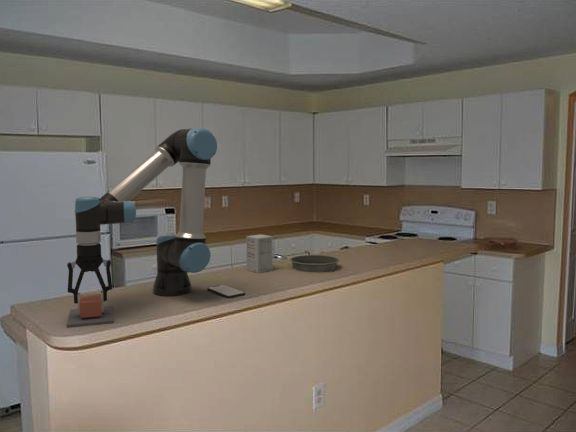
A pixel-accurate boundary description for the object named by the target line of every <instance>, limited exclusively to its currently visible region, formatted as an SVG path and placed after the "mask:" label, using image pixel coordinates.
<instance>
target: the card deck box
mask: <svg viewBox="0 0 576 432" xmlns="http://www.w3.org/2000/svg"><path fill="white" fill-rule="evenodd" d="M98 316H102V307H101V293H96V294H94V293H93V294H84V295H83V294H80V318H87V317H98Z"/></svg>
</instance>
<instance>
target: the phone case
mask: <svg viewBox="0 0 576 432" xmlns="http://www.w3.org/2000/svg"><path fill="white" fill-rule="evenodd" d="M206 290H207V292H210V293H212V294H214V295H217V296H219V297H222V298H226V299H233V298H238V297H244V296H245V295H246V293H245V291H242V290H239V289H236V288H234V287H232V286H228V285H226V284H220V285H215V286H209V287H207V288H206Z"/></svg>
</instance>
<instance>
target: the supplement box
mask: <svg viewBox="0 0 576 432" xmlns="http://www.w3.org/2000/svg"><path fill="white" fill-rule="evenodd" d="M245 240H246V250H245V251H246V271H249V272H253V273H256V274H261V273H266V272H270V271H273V266H274V265H273V236H271V235H266V234H262V233H261V234H255V235H254V234H253V235H247V236H246V237H245Z"/></svg>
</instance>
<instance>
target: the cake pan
mask: <svg viewBox="0 0 576 432" xmlns="http://www.w3.org/2000/svg"><path fill="white" fill-rule="evenodd" d="M289 261H290V262H291V264H292V268H293V269H294V270H297V271H301V272H307V273H324V272H331V271H332V272H333V271H334V270H336V268H337V263H339V262H340V260H339V258H338V257H334V256H331V255H330V256H329V255H325V254H323V255H322V254H306V255H298V256H293V257H291V258H289Z"/></svg>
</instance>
